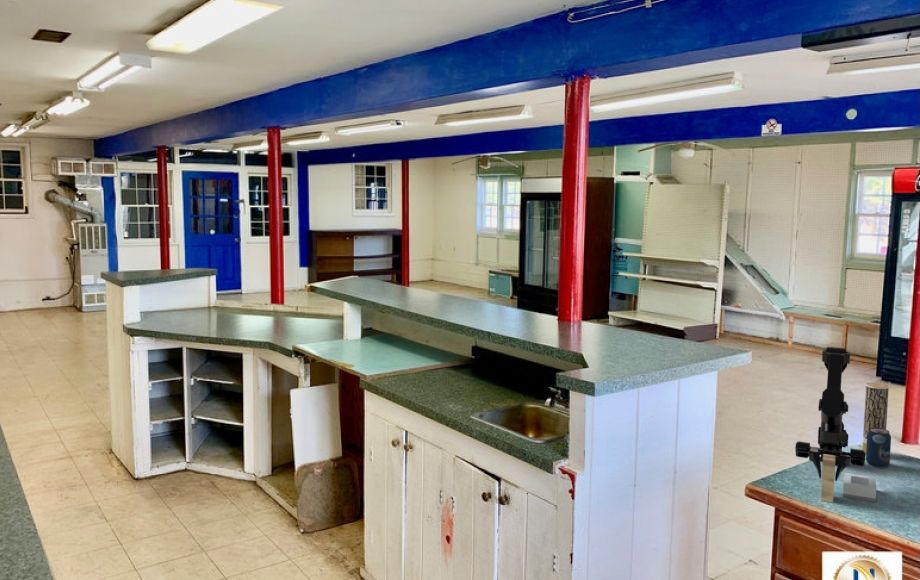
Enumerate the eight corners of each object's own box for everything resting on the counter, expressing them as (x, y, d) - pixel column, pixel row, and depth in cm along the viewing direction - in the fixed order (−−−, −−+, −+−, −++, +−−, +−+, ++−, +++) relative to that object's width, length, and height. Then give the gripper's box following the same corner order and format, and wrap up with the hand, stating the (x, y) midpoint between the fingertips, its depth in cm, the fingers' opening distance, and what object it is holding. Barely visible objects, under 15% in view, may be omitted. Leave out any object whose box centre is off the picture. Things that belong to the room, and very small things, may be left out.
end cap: (843, 484, 220) (844, 472, 220) (874, 489, 216) (875, 477, 215) (843, 496, 211) (843, 483, 211) (875, 501, 207) (876, 489, 207)
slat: (821, 494, 213) (823, 453, 211) (833, 496, 211) (835, 455, 210) (820, 500, 209) (822, 458, 208) (833, 502, 208) (835, 460, 206)
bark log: (862, 449, 250) (866, 381, 247) (884, 452, 247) (888, 383, 244) (862, 455, 245) (865, 386, 242) (884, 458, 241) (888, 388, 238)
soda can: (883, 470, 231) (885, 435, 230) (861, 464, 237) (863, 430, 235) (893, 465, 235) (895, 430, 234) (871, 459, 241) (873, 425, 239)
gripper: (797, 416, 215) (792, 462, 207) (866, 424, 206) (865, 473, 198) (797, 433, 223) (793, 478, 215) (865, 441, 214) (863, 489, 206)
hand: (828, 479), depth 208 cm, fingers open, 4 cm apart
